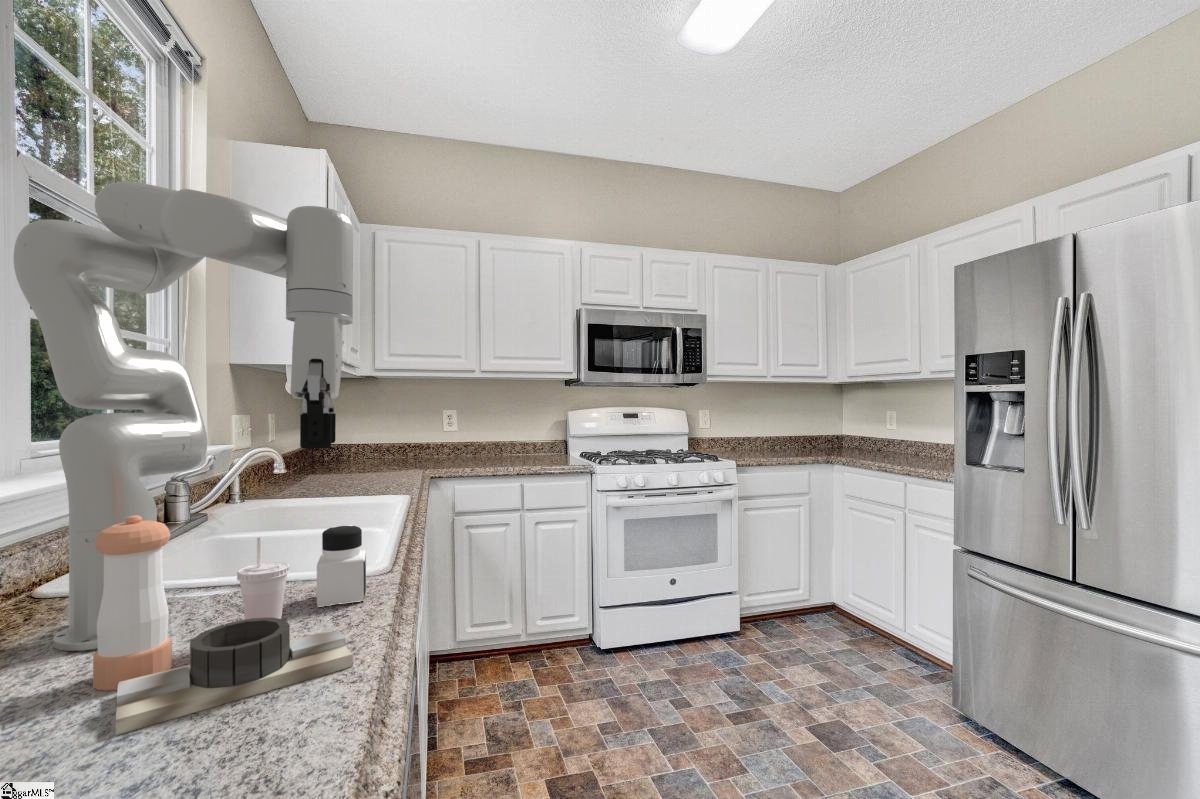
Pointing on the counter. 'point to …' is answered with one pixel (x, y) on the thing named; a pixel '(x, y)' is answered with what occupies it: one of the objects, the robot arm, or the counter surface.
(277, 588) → the smoothie
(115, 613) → the pepper shaker
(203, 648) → the socket rail
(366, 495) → the counter surface
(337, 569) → the medicine bottle
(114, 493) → the robot arm
